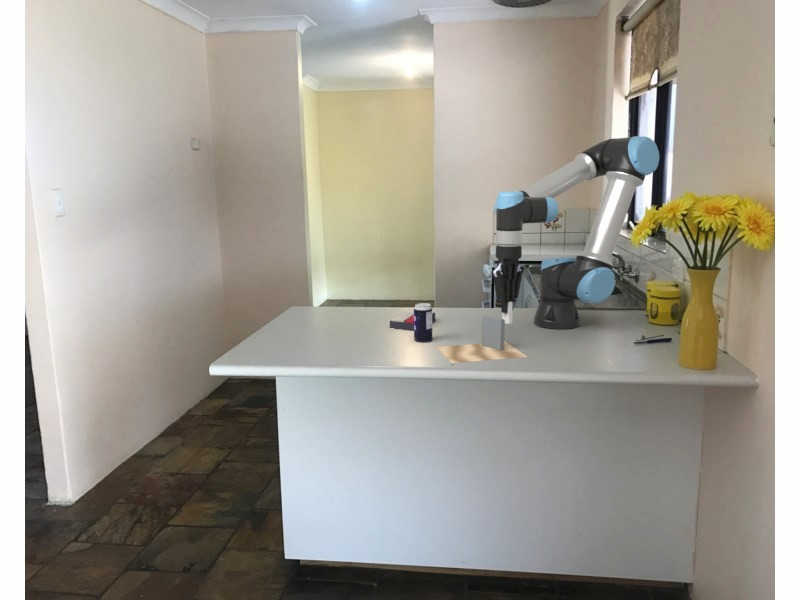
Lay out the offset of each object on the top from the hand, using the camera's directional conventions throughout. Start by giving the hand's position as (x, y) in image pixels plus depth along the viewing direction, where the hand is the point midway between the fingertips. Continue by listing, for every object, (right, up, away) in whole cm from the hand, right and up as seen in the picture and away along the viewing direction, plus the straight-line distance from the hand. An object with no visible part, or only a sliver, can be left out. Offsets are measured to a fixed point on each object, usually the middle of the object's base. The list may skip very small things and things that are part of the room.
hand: (506, 322), depth 177 cm
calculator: (-28, -2, +28) cm, 39 cm away
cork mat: (-9, -9, -7) cm, 14 cm away
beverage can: (-25, -7, +6) cm, 27 cm away
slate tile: (-5, -7, -3) cm, 9 cm away
